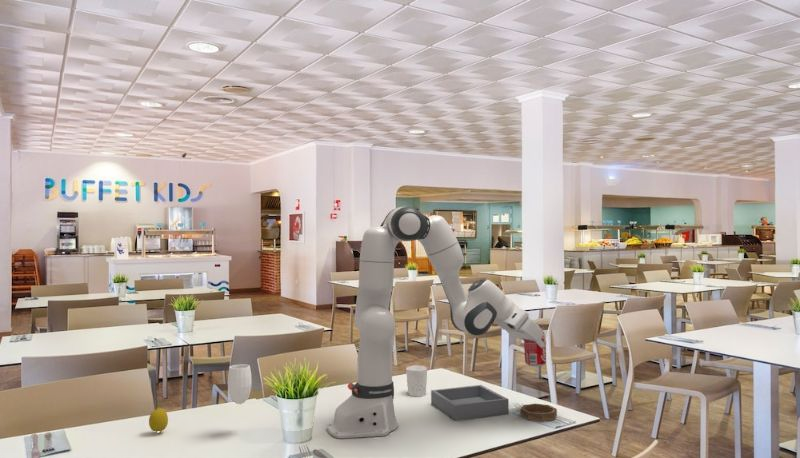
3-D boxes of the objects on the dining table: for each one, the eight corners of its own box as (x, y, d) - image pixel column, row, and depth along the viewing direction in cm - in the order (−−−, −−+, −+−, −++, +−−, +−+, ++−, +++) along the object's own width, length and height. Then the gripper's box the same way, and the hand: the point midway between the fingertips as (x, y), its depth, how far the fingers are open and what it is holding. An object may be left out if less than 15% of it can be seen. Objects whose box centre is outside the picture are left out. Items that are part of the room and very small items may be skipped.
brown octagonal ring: (533, 423, 194) (533, 415, 194) (515, 413, 205) (515, 406, 205) (562, 419, 198) (562, 411, 198) (543, 409, 208) (543, 402, 208)
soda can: (543, 363, 206) (542, 327, 206) (548, 366, 198) (547, 330, 199) (523, 363, 206) (521, 328, 206) (527, 367, 199) (525, 330, 199)
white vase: (227, 430, 190) (226, 365, 190) (250, 427, 193) (250, 363, 193) (229, 438, 183) (228, 370, 183) (253, 435, 186) (252, 367, 186)
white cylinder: (403, 392, 232) (403, 366, 232) (423, 390, 234) (423, 365, 234) (410, 398, 225) (410, 371, 225) (430, 396, 227) (430, 369, 227)
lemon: (148, 437, 185) (147, 411, 185) (150, 431, 190) (150, 406, 190) (167, 435, 186) (166, 409, 186) (169, 429, 192) (168, 404, 192)
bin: (454, 420, 198) (454, 405, 198) (431, 404, 216) (431, 390, 216) (508, 413, 204) (508, 399, 204) (481, 398, 223) (481, 384, 223)
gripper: (490, 321, 210) (516, 347, 212) (516, 326, 190) (545, 355, 192) (501, 307, 211) (527, 334, 213) (528, 311, 192) (557, 340, 194)
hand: (536, 344), depth 203 cm, fingers closed on soda can, 7 cm apart
